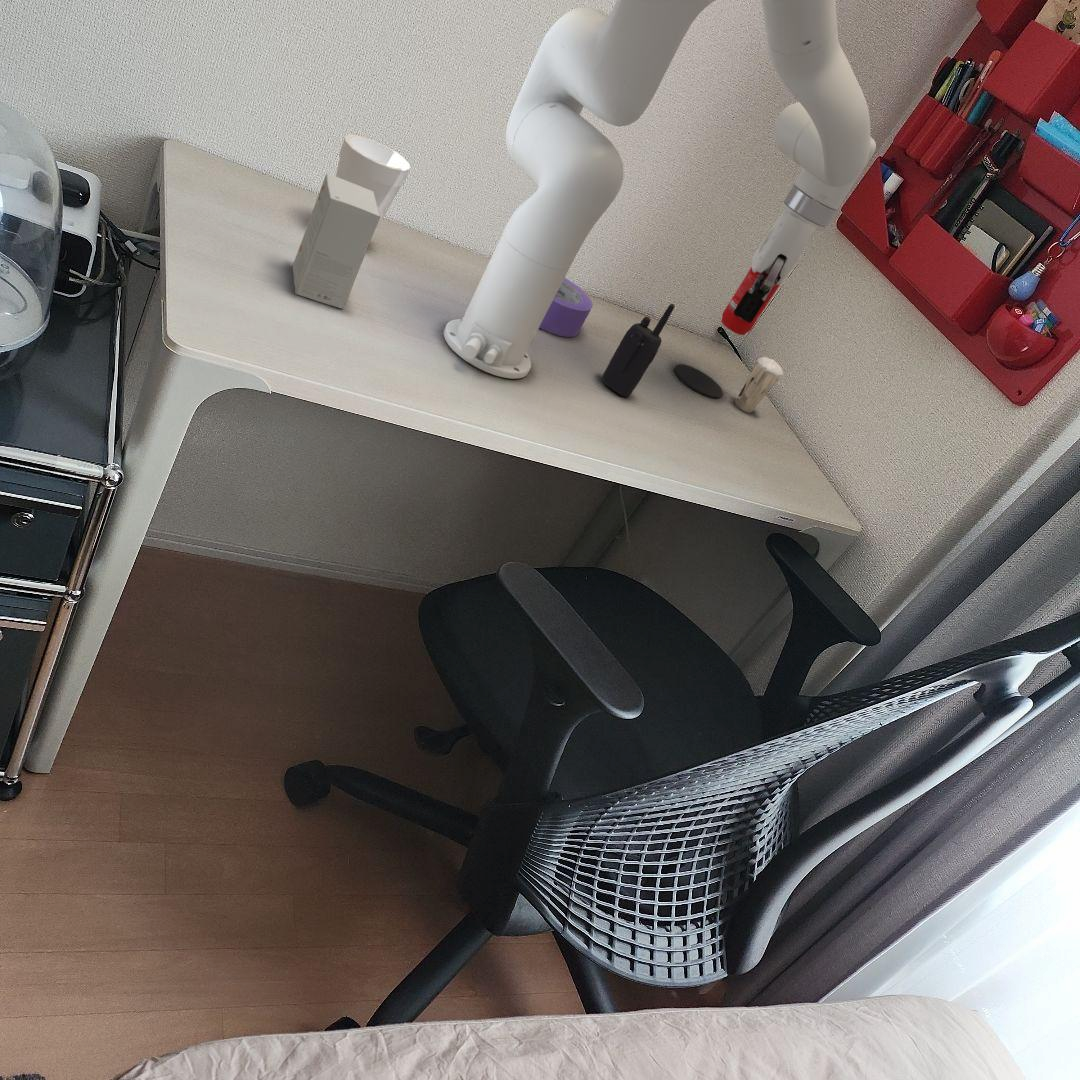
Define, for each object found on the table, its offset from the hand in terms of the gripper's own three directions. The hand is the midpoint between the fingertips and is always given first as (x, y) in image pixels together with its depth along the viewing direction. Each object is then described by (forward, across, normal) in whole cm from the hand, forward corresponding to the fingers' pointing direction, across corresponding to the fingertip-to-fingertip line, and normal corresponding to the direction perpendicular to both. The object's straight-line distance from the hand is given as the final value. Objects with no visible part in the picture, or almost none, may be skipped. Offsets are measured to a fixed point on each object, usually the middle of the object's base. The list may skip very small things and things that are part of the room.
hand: (742, 311), depth 158 cm
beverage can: (+3, 0, 0) cm, 3 cm away
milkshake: (+14, 0, +9) cm, 16 cm away
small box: (+14, +40, -53) cm, 68 cm away
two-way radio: (+14, +21, -13) cm, 28 cm away
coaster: (+14, 0, 0) cm, 14 cm away
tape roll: (+14, +8, -27) cm, 31 cm away
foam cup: (+14, +20, -57) cm, 62 cm away
